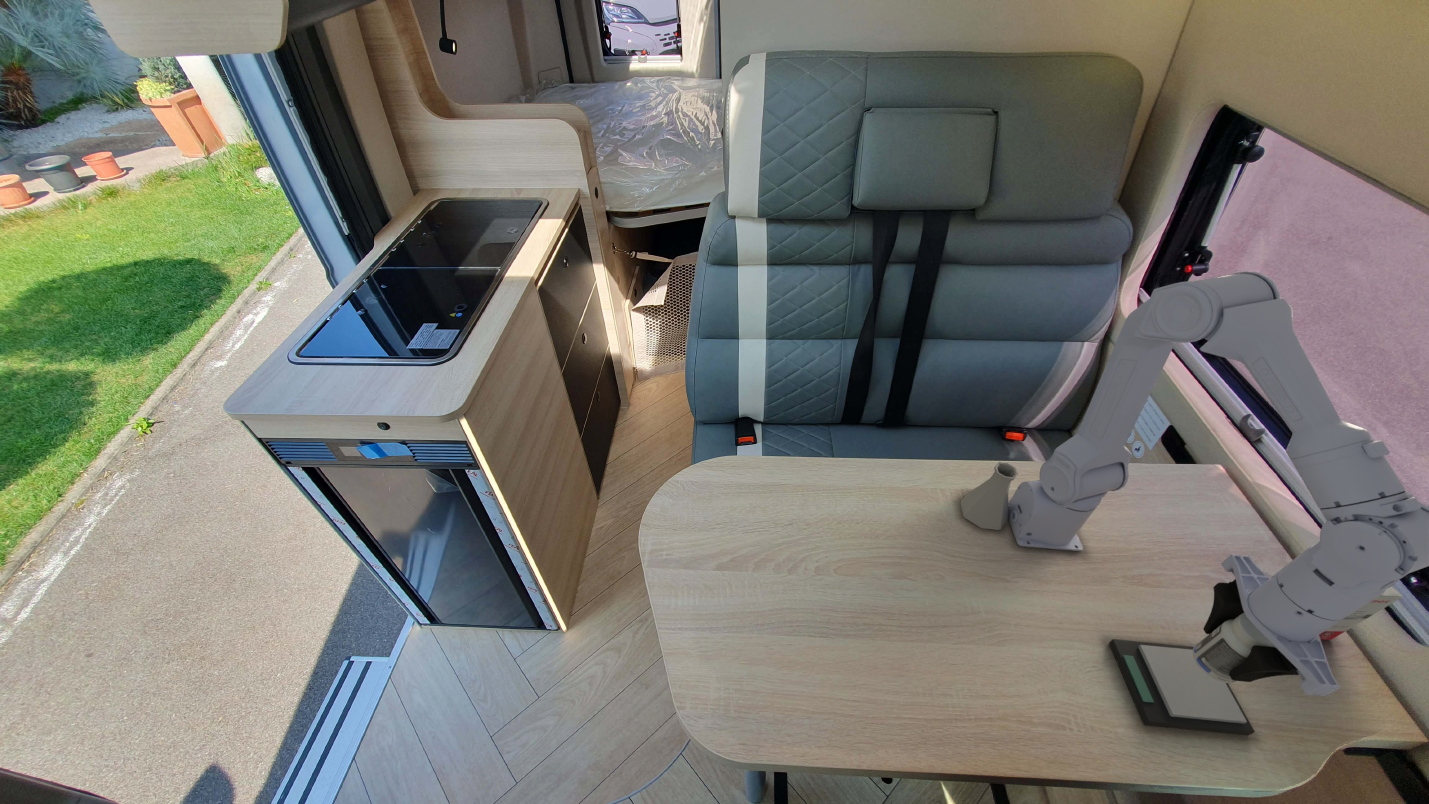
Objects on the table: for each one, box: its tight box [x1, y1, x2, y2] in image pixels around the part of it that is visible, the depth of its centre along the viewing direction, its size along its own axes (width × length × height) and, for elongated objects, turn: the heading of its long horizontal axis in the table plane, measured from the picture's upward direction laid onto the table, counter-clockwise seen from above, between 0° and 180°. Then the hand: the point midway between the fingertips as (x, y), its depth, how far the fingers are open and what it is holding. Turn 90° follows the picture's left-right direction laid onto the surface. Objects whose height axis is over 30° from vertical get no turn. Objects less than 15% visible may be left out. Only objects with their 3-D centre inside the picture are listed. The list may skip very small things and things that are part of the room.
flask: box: [960, 461, 1019, 531], centre depth 88 cm, size 7×7×10 cm
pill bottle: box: [1193, 613, 1276, 684], centre depth 65 cm, size 5×5×8 cm
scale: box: [1108, 638, 1256, 736], centre depth 71 cm, size 12×10×2 cm
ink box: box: [1319, 585, 1403, 641], centre depth 74 cm, size 9×5×12 cm, turn 88°
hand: (1226, 654), depth 66 cm, fingers closed on pill bottle, 5 cm apart
